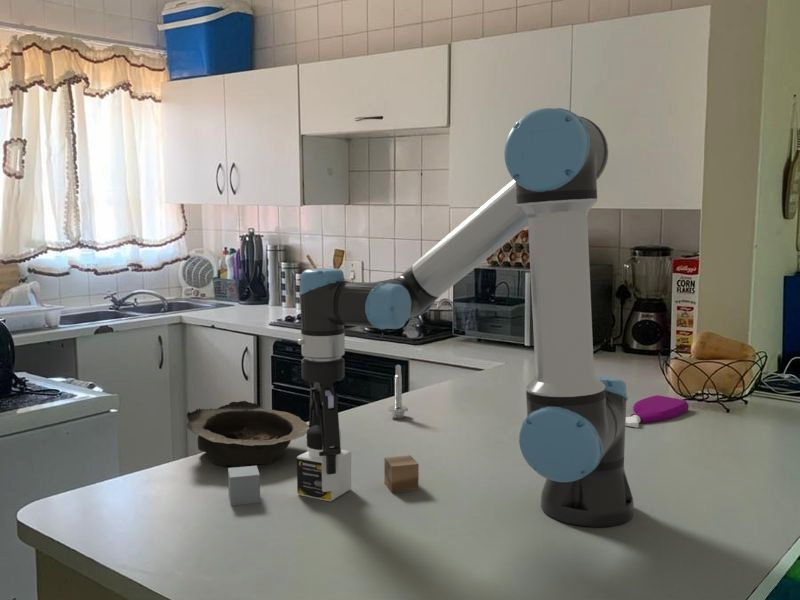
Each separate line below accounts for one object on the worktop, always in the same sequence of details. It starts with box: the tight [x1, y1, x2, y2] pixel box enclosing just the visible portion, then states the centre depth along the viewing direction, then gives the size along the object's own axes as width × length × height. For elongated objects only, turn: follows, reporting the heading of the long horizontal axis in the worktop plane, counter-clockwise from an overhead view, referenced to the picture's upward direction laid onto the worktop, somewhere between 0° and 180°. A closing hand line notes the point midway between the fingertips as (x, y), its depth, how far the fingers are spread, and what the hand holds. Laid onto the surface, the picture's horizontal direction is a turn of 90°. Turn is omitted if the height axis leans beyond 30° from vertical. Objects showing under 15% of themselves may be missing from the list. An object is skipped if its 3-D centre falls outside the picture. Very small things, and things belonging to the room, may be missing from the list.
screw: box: [387, 364, 409, 419], centre depth 189 cm, size 13×5×5 cm
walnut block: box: [383, 455, 420, 494], centre depth 143 cm, size 5×5×5 cm
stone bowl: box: [186, 400, 309, 468], centre depth 160 cm, size 25×25×9 cm
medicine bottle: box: [296, 424, 352, 502], centre depth 139 cm, size 7×7×12 cm
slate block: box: [227, 465, 261, 506], centre depth 137 cm, size 5×5×5 cm
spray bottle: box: [625, 394, 689, 429], centre depth 191 cm, size 3×11×24 cm
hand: (324, 480), depth 140 cm, fingers closed on medicine bottle, 10 cm apart
